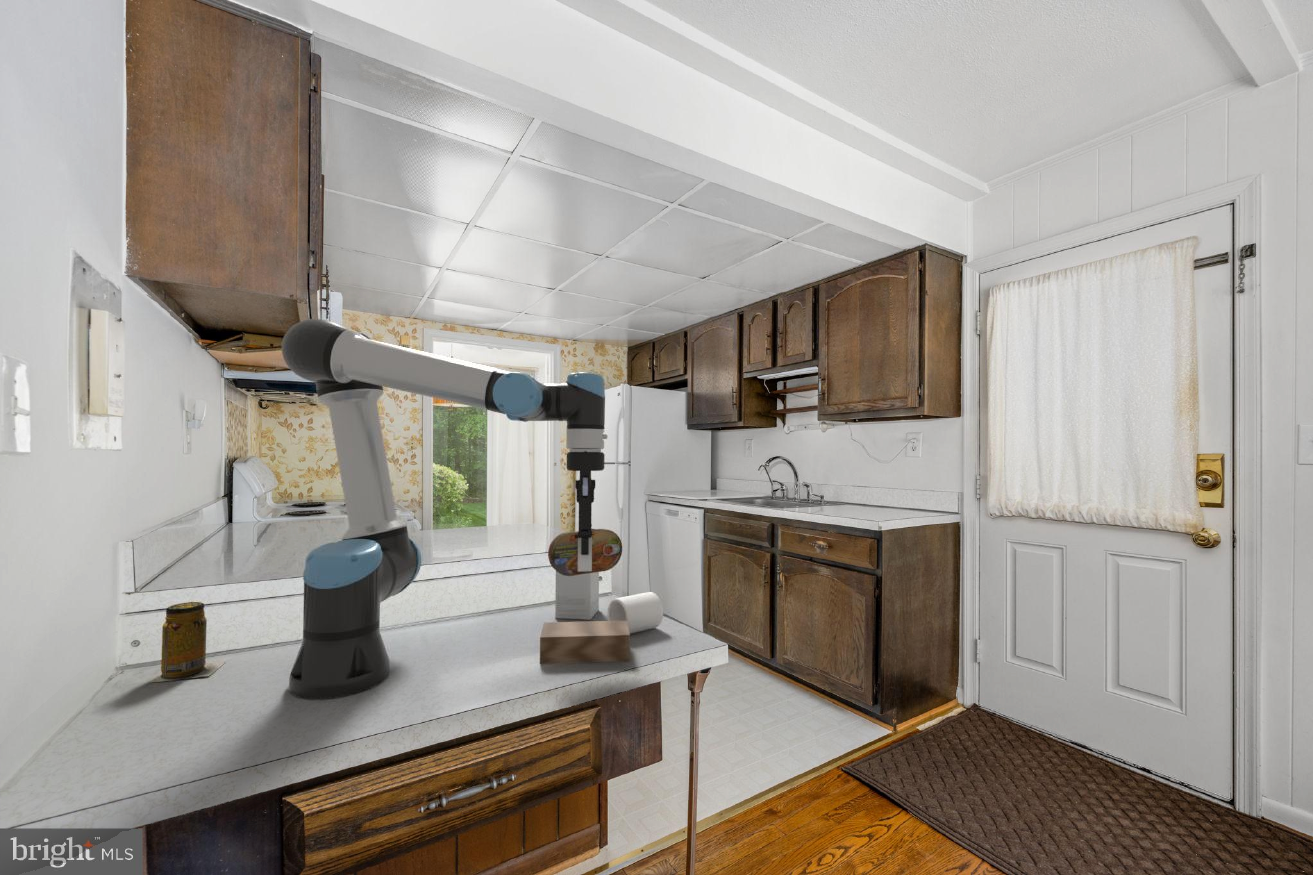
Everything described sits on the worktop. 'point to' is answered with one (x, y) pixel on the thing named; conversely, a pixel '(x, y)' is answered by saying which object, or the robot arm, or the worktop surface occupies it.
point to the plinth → (584, 642)
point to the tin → (603, 552)
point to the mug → (637, 611)
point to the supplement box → (577, 596)
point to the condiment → (185, 643)
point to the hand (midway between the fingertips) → (584, 568)
